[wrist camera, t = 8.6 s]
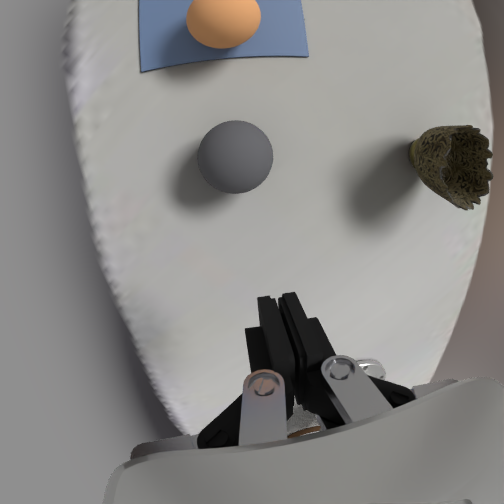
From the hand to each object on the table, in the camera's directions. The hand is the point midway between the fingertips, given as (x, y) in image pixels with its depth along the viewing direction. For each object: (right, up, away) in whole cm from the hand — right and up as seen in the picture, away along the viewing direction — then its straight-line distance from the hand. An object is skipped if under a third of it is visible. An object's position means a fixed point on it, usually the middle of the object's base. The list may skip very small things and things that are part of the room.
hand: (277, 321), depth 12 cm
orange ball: (-3, +20, +2) cm, 21 cm away
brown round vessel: (+16, +13, +12) cm, 24 cm away
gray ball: (-2, +10, +7) cm, 13 cm away
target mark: (-4, +25, +3) cm, 26 cm away
